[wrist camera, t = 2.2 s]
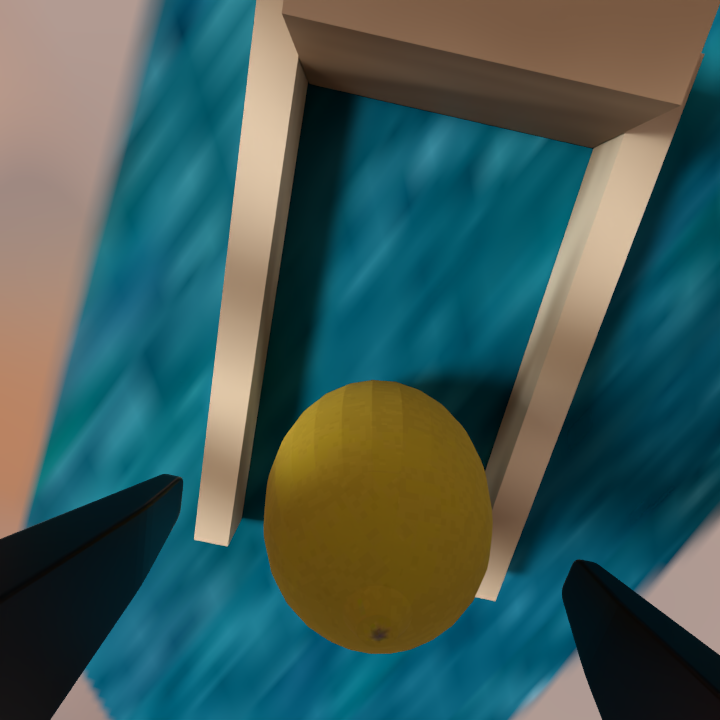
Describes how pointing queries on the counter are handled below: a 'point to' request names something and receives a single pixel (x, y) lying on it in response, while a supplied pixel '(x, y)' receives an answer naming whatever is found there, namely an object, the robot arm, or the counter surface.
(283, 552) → the lemon
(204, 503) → the channel
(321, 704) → the counter surface
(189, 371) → the counter surface
